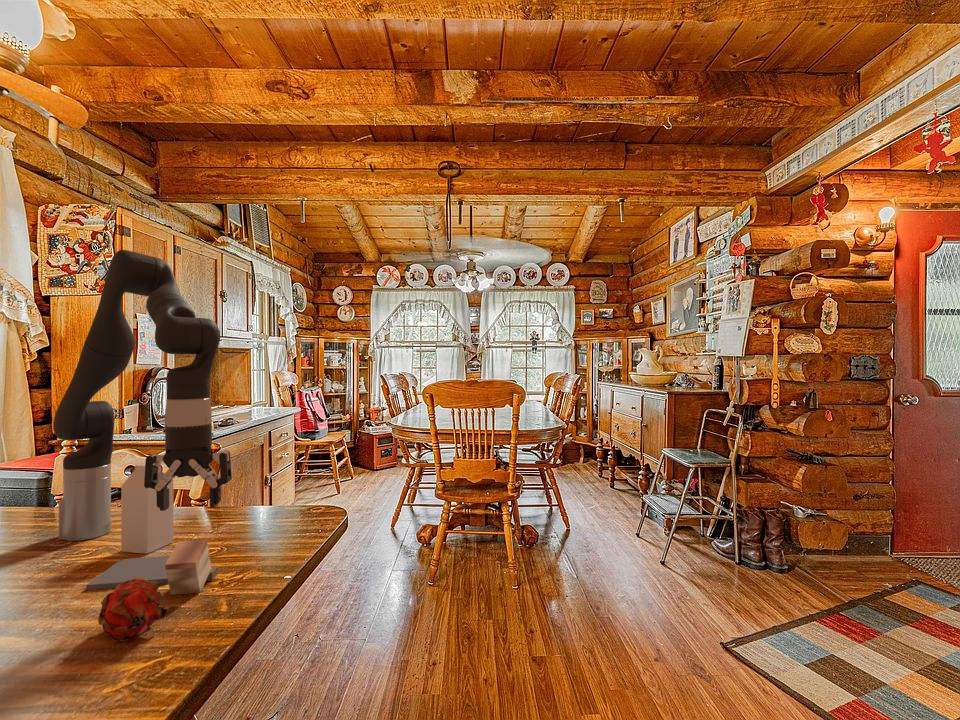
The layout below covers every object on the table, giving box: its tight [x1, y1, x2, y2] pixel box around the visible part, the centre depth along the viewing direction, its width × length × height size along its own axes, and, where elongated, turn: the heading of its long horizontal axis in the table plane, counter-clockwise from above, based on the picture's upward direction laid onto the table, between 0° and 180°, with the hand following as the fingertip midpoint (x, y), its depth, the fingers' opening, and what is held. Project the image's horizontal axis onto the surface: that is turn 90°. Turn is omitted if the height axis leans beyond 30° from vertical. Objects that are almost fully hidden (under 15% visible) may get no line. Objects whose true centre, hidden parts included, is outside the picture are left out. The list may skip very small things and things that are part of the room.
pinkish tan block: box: [165, 539, 212, 596], centre depth 90 cm, size 5×8×9 cm, turn 11°
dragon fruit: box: [97, 577, 170, 643], centre depth 76 cm, size 8×8×12 cm
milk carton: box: [120, 464, 174, 555], centre depth 110 cm, size 7×7×19 cm
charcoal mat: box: [85, 555, 170, 591], centre depth 97 cm, size 14×12×1 cm
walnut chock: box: [205, 565, 219, 582], centre depth 94 cm, size 6×3×2 cm, turn 101°
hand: (189, 508), depth 90 cm, fingers open, 8 cm apart
